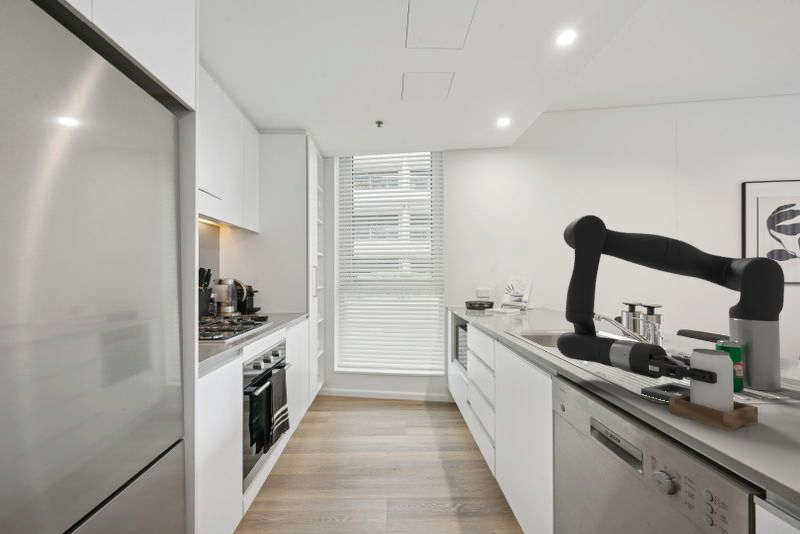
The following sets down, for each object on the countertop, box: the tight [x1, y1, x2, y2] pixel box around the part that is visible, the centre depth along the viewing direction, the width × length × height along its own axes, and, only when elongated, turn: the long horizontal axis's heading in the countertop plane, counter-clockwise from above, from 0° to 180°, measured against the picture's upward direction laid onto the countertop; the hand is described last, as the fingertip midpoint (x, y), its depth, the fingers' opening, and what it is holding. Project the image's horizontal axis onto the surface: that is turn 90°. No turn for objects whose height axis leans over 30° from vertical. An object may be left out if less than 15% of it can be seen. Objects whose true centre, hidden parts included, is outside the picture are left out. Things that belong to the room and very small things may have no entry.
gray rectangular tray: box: [640, 381, 690, 401], centre depth 82 cm, size 13×9×2 cm
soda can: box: [714, 339, 745, 393], centre depth 89 cm, size 5×5×12 cm
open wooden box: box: [668, 393, 759, 432], centre depth 70 cm, size 10×10×3 cm
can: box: [689, 348, 734, 412], centre depth 71 cm, size 6×6×12 cm
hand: (725, 376), depth 69 cm, fingers closed on can, 6 cm apart
